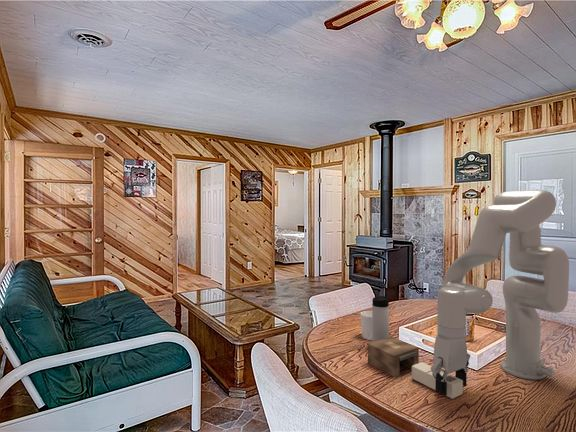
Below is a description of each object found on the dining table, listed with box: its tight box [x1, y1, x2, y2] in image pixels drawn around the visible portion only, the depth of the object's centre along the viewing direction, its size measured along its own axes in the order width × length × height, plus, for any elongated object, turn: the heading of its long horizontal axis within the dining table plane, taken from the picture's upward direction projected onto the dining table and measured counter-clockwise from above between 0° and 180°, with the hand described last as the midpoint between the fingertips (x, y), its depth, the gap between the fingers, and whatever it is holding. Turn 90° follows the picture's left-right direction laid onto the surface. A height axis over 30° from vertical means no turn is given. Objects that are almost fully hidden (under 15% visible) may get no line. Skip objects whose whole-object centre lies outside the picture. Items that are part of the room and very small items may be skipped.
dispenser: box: [367, 335, 420, 378], centre depth 120 cm, size 13×12×7 cm
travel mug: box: [371, 295, 391, 342], centre depth 135 cm, size 6×7×20 cm
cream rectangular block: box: [411, 362, 464, 399], centre depth 106 cm, size 14×5×4 cm, turn 31°
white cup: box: [360, 310, 372, 341], centre depth 146 cm, size 8×8×10 cm
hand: (451, 388), depth 101 cm, fingers open, 9 cm apart
